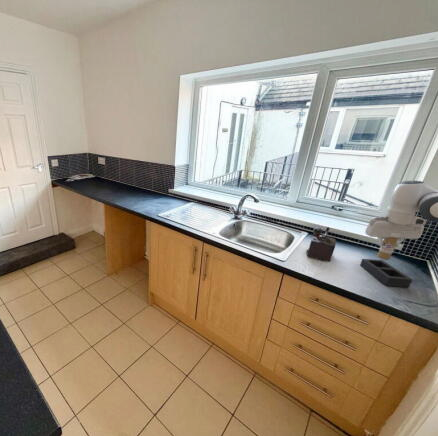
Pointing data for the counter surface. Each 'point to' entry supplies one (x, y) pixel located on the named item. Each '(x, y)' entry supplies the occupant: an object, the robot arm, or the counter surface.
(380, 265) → the holder
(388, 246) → the sprinkles bottle
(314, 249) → the brown coffee grinder
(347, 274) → the counter surface
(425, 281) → the counter surface
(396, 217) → the robot arm
